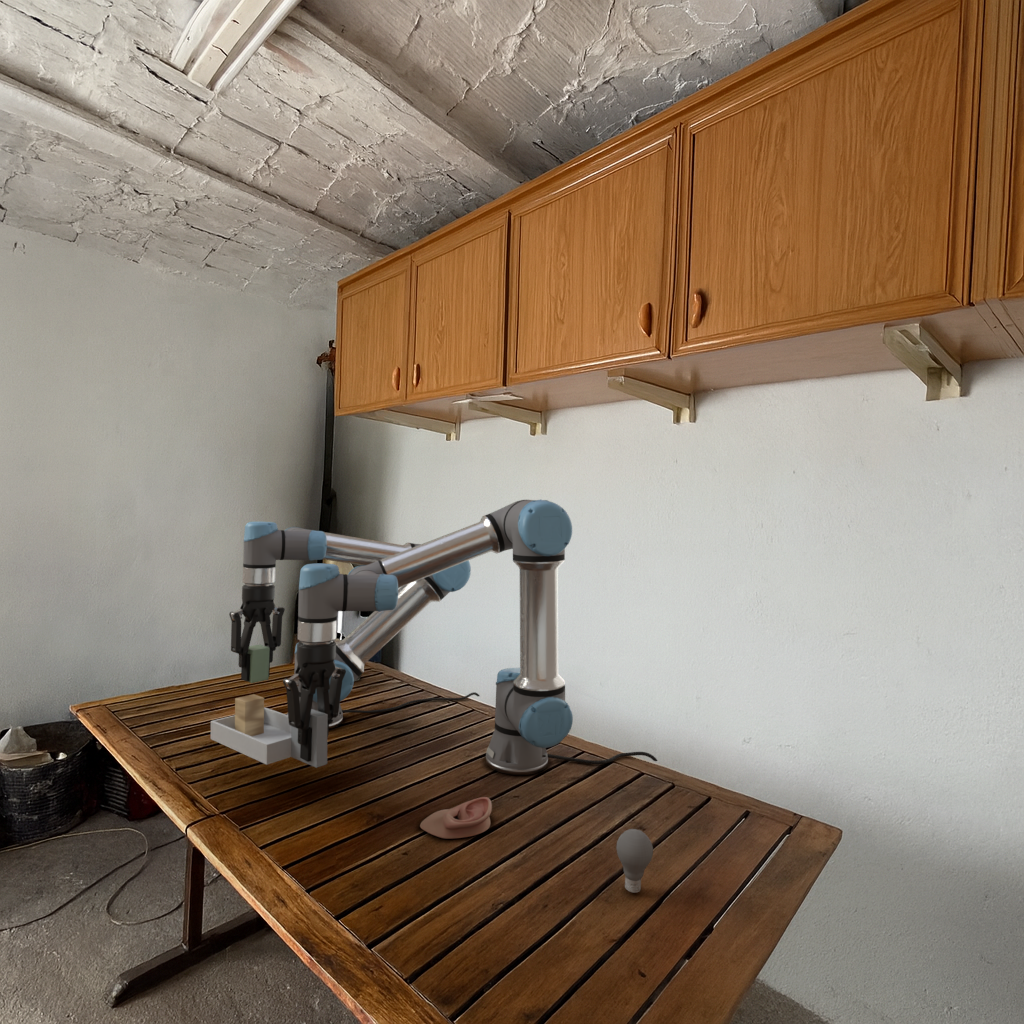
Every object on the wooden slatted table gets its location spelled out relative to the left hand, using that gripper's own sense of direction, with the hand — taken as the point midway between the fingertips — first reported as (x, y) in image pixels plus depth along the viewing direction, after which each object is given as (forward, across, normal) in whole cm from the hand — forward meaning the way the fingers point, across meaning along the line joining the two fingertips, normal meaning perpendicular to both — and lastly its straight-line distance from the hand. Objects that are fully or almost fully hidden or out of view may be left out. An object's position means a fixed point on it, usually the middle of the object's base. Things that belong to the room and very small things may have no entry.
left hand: (255, 677), depth 157 cm
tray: (+8, +8, +24) cm, 26 cm away
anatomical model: (+18, -8, +62) cm, 65 cm away
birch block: (+8, +8, +12) cm, 17 cm away
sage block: (0, 0, 0) cm, 0 cm away
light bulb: (+18, -13, +98) cm, 101 cm away
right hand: (+7, +8, +37) cm, 38 cm away
